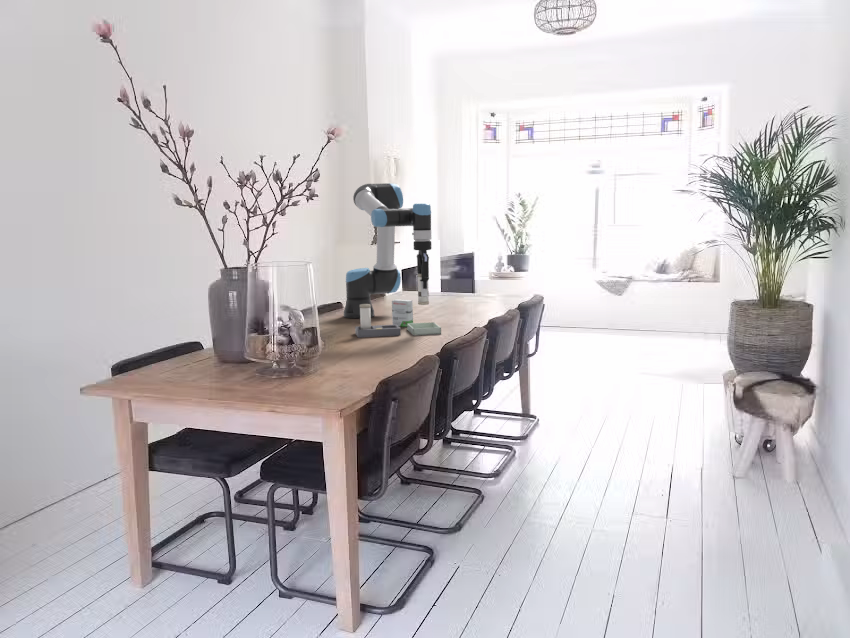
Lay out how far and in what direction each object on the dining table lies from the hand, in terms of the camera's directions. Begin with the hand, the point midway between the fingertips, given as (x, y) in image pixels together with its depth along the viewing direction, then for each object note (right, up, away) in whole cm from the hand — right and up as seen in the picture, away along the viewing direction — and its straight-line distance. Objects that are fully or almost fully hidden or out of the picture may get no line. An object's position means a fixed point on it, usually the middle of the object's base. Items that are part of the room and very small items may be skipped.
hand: (423, 295), depth 300 cm
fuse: (-24, -17, -2) cm, 30 cm away
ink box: (-9, -13, +19) cm, 25 cm away
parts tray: (0, -16, +3) cm, 16 cm away
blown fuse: (0, -4, +1) cm, 4 cm away
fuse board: (-19, -17, -1) cm, 25 cm away
